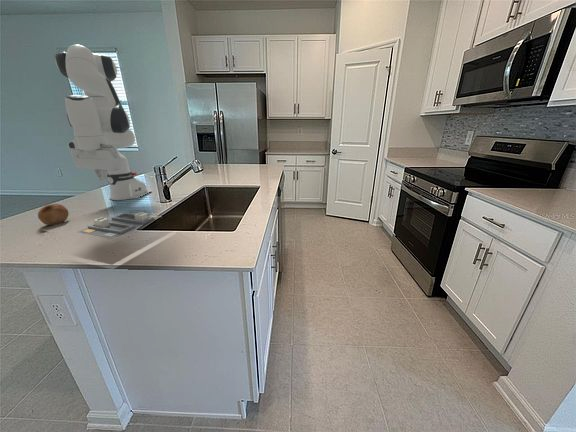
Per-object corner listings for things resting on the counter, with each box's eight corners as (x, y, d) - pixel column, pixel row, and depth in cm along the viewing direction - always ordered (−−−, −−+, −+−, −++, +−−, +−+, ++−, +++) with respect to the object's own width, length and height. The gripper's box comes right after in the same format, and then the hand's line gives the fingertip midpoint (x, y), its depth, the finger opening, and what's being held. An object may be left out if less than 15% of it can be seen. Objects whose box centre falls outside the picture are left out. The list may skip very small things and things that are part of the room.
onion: (57, 233, 102) (45, 217, 95) (39, 225, 103) (25, 209, 96) (78, 218, 108) (67, 202, 101) (61, 211, 109) (49, 195, 102)
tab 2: (141, 218, 107) (139, 211, 105) (148, 219, 106) (147, 212, 104) (135, 221, 104) (133, 213, 103) (142, 222, 103) (141, 214, 102)
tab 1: (102, 224, 100) (100, 216, 99) (109, 225, 99) (107, 217, 98) (95, 227, 98) (92, 218, 96) (102, 228, 97) (100, 219, 95)
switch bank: (131, 214, 115) (130, 209, 114) (162, 218, 110) (161, 214, 110) (78, 234, 94) (76, 229, 93) (113, 241, 89) (111, 235, 88)
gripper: (122, 143, 89) (131, 180, 94) (81, 141, 94) (92, 176, 100) (105, 145, 83) (116, 184, 89) (63, 143, 89) (75, 180, 94)
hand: (103, 180), depth 94 cm, fingers closed
